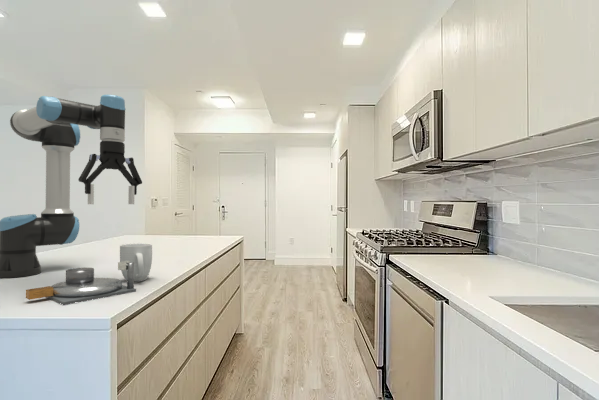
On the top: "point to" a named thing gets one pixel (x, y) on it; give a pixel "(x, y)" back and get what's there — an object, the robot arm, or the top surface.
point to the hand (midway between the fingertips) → (111, 204)
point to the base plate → (84, 298)
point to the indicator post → (128, 272)
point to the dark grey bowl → (79, 275)
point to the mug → (137, 259)
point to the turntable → (76, 289)
